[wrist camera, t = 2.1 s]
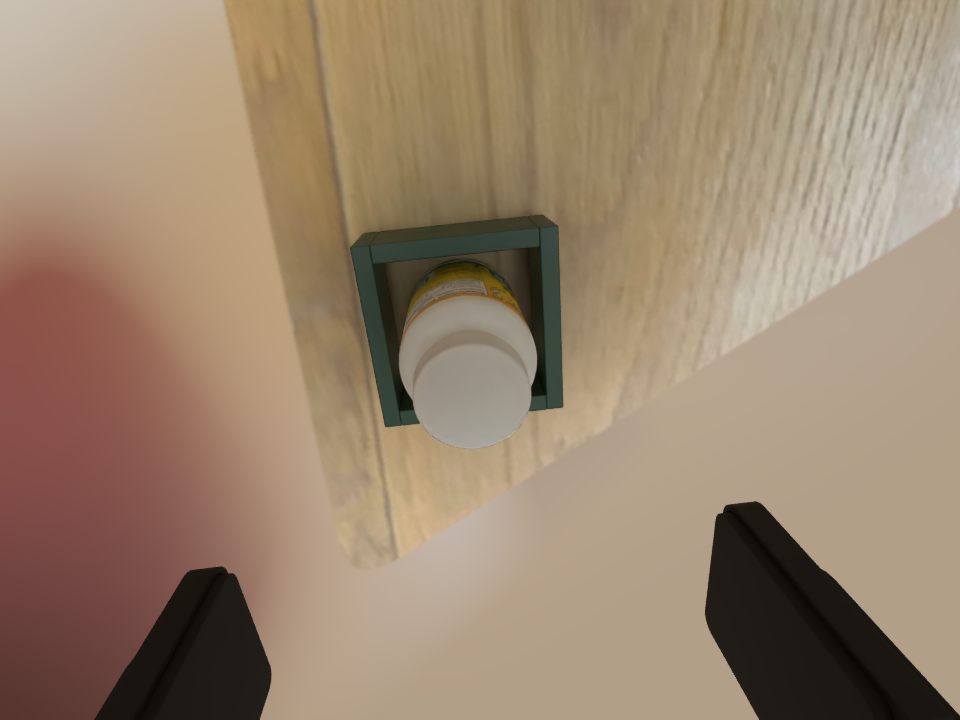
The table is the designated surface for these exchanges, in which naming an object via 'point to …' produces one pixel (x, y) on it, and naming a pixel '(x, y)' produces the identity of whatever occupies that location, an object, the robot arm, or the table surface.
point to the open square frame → (451, 242)
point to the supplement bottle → (467, 355)
